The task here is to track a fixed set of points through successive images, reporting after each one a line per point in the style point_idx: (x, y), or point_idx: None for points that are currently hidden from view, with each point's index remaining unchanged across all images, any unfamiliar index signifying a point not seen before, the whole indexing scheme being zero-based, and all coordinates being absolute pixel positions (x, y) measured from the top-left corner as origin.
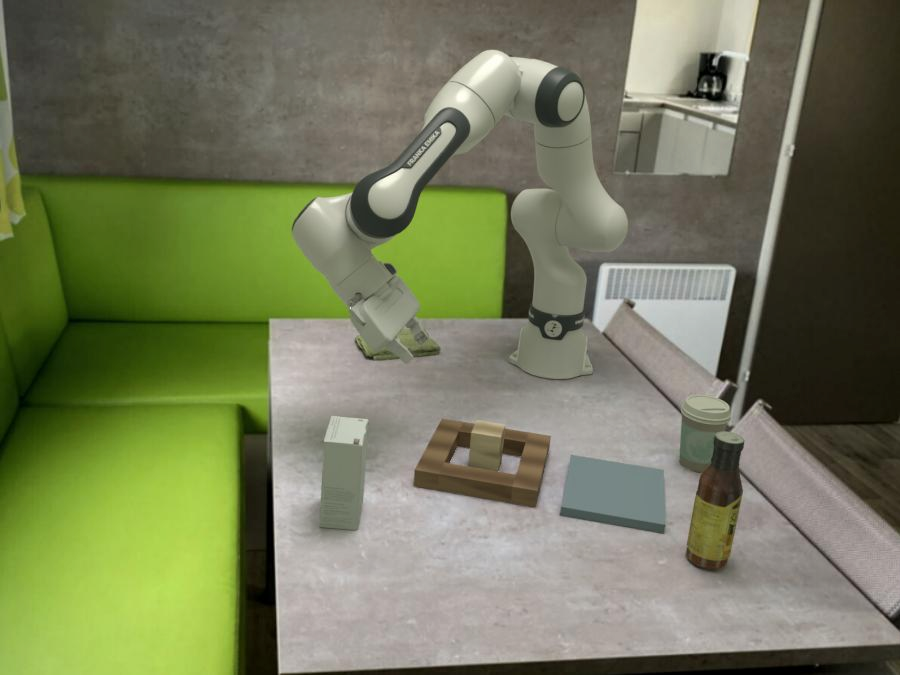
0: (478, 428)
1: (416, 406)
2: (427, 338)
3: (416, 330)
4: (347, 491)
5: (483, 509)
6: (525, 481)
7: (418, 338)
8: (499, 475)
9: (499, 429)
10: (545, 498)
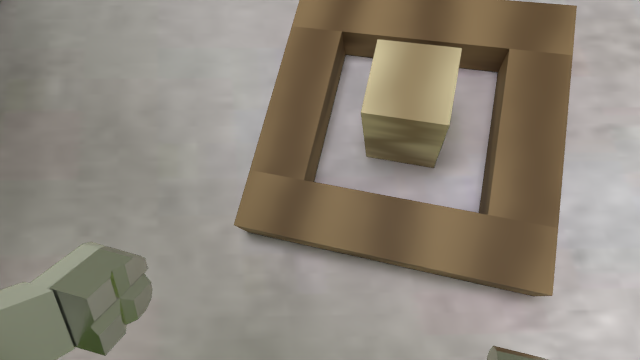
0: (417, 106)
1: None
2: (108, 247)
3: (31, 336)
4: None
5: (599, 132)
6: (537, 29)
7: (118, 314)
8: (523, 83)
9: (412, 52)
10: None
